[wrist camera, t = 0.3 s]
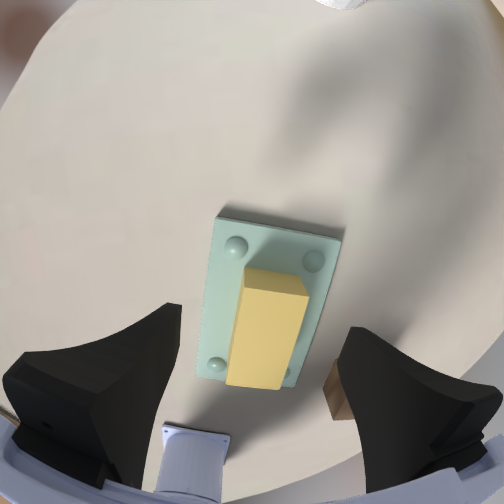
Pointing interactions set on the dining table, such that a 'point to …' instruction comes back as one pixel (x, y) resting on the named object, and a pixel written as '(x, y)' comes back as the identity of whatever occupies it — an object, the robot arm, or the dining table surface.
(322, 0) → the shot glass
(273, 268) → the plate
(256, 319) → the ochre brick
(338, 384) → the walnut block
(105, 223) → the dining table surface
